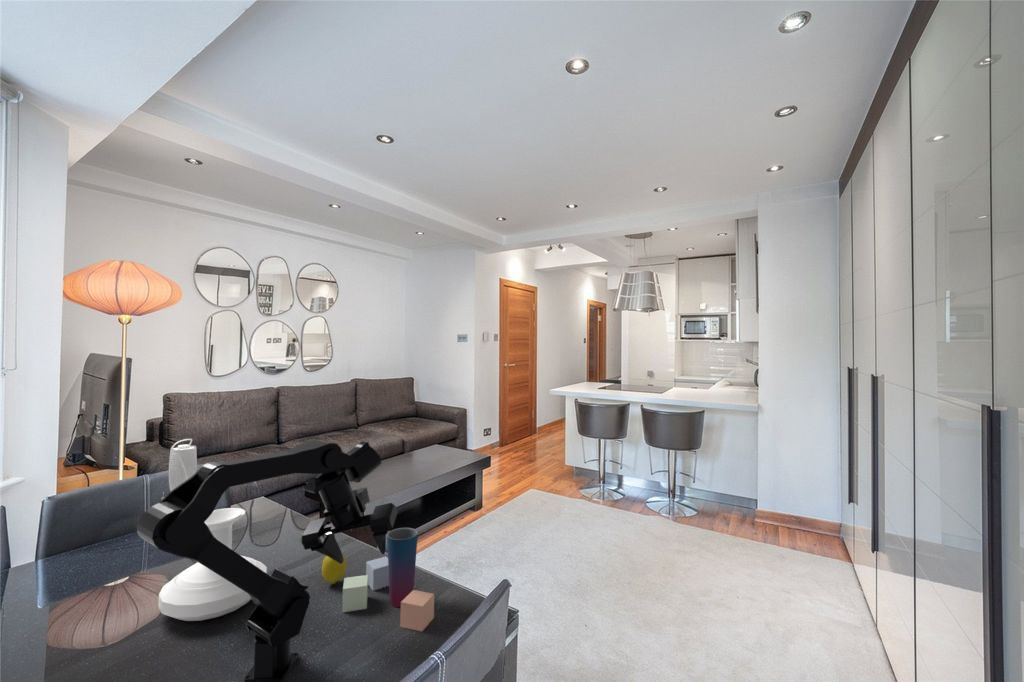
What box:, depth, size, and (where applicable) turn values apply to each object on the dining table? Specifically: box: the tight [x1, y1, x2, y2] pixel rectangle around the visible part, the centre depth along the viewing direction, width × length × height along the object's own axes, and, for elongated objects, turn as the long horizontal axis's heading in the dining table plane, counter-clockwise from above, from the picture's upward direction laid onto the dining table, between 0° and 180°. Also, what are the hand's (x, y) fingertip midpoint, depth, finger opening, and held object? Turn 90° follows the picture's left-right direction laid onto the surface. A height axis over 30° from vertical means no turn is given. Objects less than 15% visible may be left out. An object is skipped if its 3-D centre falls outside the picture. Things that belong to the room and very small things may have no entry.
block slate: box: [365, 555, 389, 592], centre depth 106 cm, size 5×5×5 cm
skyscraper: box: [160, 438, 198, 502], centre depth 139 cm, size 8×8×28 cm
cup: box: [386, 527, 419, 608], centre depth 98 cm, size 7×7×15 cm
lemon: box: [321, 552, 347, 585], centre depth 105 cm, size 6×6×8 cm
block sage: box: [341, 574, 369, 613], centre depth 96 cm, size 5×5×5 cm
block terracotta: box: [399, 589, 435, 633], centre depth 90 cm, size 5×5×5 cm
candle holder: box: [158, 507, 268, 622], centre depth 97 cm, size 20×20×19 cm
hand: (363, 557), depth 92 cm, fingers open, 9 cm apart
